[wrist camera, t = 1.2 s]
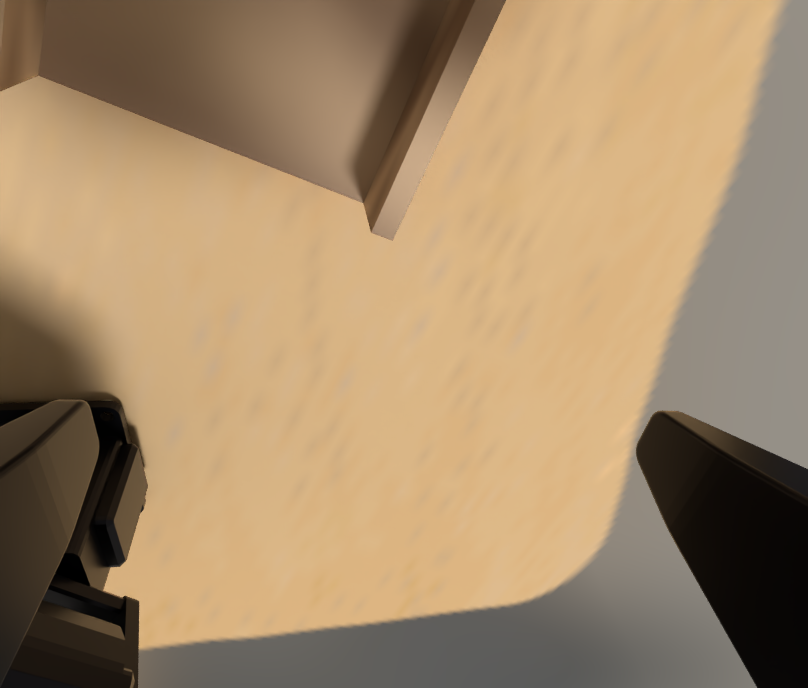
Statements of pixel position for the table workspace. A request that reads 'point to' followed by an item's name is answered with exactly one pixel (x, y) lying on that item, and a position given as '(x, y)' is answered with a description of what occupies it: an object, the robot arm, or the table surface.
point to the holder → (271, 78)
